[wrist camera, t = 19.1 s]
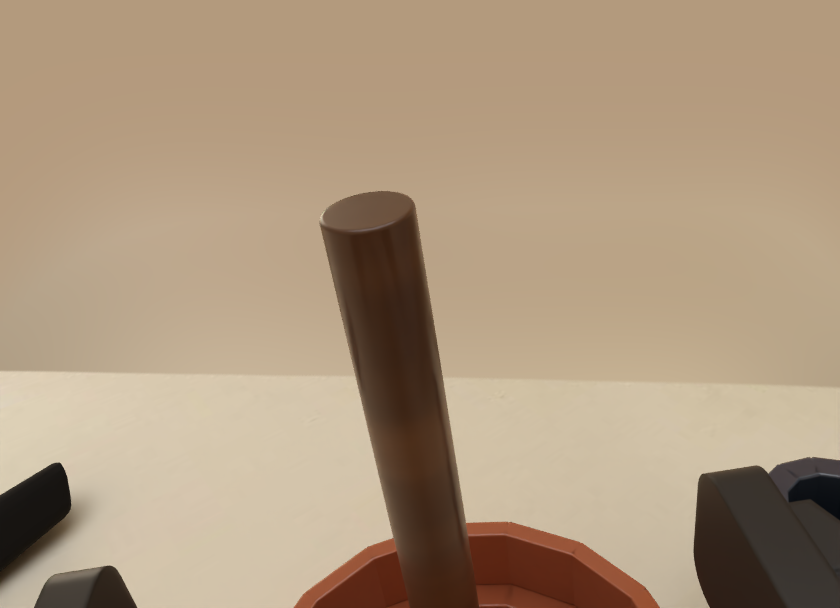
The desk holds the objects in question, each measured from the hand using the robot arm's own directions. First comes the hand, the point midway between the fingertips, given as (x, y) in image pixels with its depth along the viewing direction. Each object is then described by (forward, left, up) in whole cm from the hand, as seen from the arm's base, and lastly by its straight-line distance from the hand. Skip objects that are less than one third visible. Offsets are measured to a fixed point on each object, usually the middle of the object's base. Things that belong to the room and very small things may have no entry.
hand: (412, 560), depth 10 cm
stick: (+4, -3, -16) cm, 16 cm away
